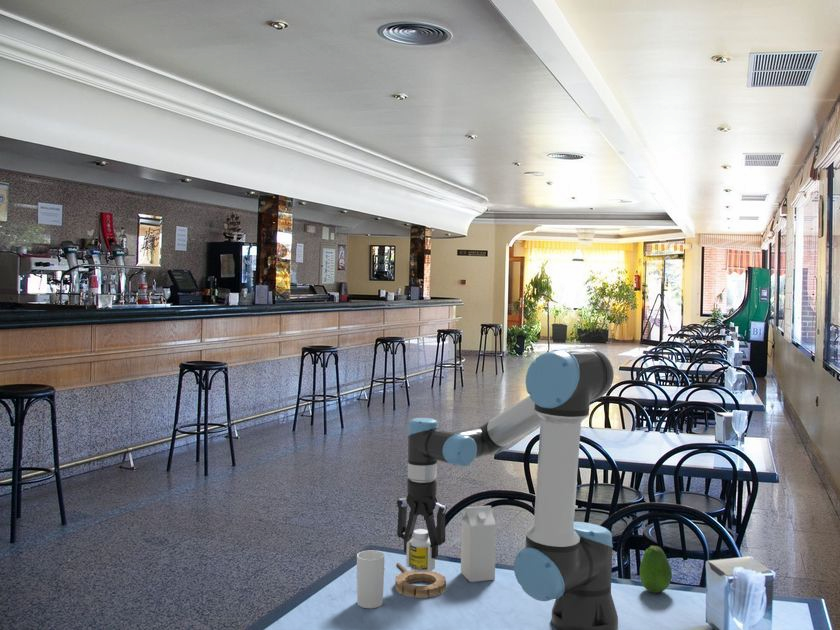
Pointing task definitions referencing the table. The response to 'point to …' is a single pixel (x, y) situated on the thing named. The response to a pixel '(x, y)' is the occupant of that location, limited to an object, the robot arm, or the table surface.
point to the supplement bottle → (419, 550)
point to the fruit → (655, 570)
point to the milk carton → (478, 544)
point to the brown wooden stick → (401, 567)
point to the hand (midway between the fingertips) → (420, 567)
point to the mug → (370, 578)
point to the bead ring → (420, 591)
